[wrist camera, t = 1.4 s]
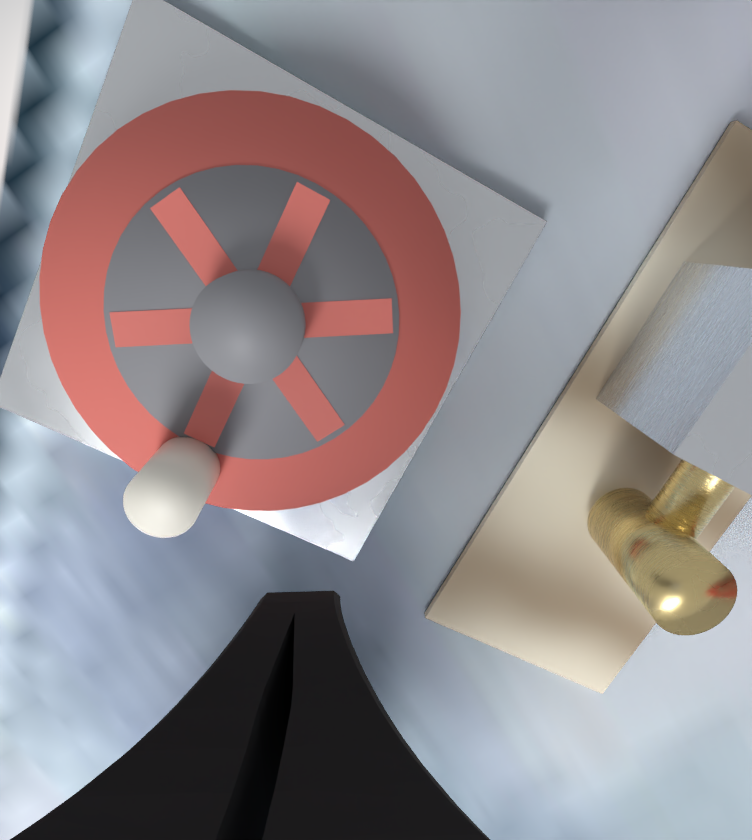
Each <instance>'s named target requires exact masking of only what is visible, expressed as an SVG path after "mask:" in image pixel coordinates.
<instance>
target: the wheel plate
mask: <svg viewBox="0 0 752 840" xmlns="http://www.w3.org/2000/svg"><path fill="white" fill-rule="evenodd" d="M226 90H241V91H262V92H268V93H274V94H279V95H285V96H290V97H293V98H297V99H300V100H303V101H306V102H309V103H312V104H315V105H318V106H321V107H323V108H325V109H327V110H329V111H331V112H333V113H335V114H337V115H339V116H341V117H343V118H345V119H347V120H349V121H350V122H352V123H353V124H355V125H356V126H358V127H359V128H361V129H362V130H364V131H365V132H367V133H368V134H370V135H371V136H373V137H374V138H375V139H376V140H377V141H378V142H380V143H381V144H382V145H383V146H384V147H385V148H386V149H387V150H389V151H390V152H391V153H392V154H393V155H394V156H395V157H396V158H397V159H398V160H399V161H400V162H401V163H402V165H403V166H404V167H405V168H406V169H407V170H408V172H409V173H410V174H411V175H412V176H413V177H414V178H415V180H416V181H417V183H418V184H419V186H420V187H421V189H422V190H423V192H424V193H425V195H426V196H427V198H428V199H429V201H430V202H431V204H432V206H433V208H434V210H435V212H436V214H437V216H438V218H439V220H440V222H441V224H442V226H443V228H444V230H445V233H446V236H447V239H448V242H449V245H450V248H451V251H452V254H453V257H454V262H455V267H456V272H457V277H458V282H459V292H460V306H461V318H460V334H459V342H458V348H457V353H456V358H455V363H454V367H453V370H452V373H451V376H450V379H449V382H448V385H447V388H446V390H445V392H444V394H443V396H442V399H441V401H440V403H439V405H438V407H437V409H436V411H435V413H434V414H433V416H432V417H431V419H430V420H429V422H428V423H427V425H426V426H425V428H424V430H423V431H422V433H421V434H420V435H419V436H418V437H417V439H416V440H415V441H414V442H413V443H412V444H411V446H410V447H409V448H408V449H407V450H406V451H405V452H404V453H403V454H402V455H401V456H400V457H399V458H398V459H397V460H395V461H394V462H393V463H392V464H391V465H390V466H389V467H388V468H387V469H385V470H384V471H382V472H381V473H379V474H378V475H377V476H375V477H374V478H372V479H371V480H369V481H368V482H366V483H364V484H363V485H361V486H359V487H357V488H355V489H353V490H351V491H349V492H347V493H345V494H343V495H340V496H337V497H335V498H332V499H329V500H327V501H324V502H321V503H317V504H313V505H309V506H304V507H300V508H294V509H285V510H277V511H247V510H238V509H234V510H237V511H239V512H241V513H244V514H246V515H248V516H250V517H253V518H255V519H257V520H260V521H262V522H264V523H266V524H269V525H271V526H273V527H276V528H278V529H280V530H282V531H285V532H287V533H289V534H292V535H294V536H296V537H299V538H301V539H303V540H305V541H308V542H310V543H312V544H315V545H317V546H319V547H321V548H324V549H326V550H328V551H331V552H333V553H335V554H337V555H340V556H342V557H344V558H347V559H349V560H351V561H354V560H355V558H356V556H357V554H358V553H359V551H360V549H361V547H362V546H363V544H364V542H365V540H366V539H367V537H368V535H369V533H370V532H371V530H372V528H373V526H374V525H375V523H376V521H377V519H378V518H379V516H380V514H381V512H382V511H383V509H384V507H385V505H386V503H387V502H388V500H389V498H390V496H391V495H392V493H393V491H394V489H395V488H396V486H397V484H398V482H399V481H400V479H401V477H402V475H403V474H404V472H405V470H406V468H407V467H408V465H409V463H410V461H411V460H412V458H413V456H414V454H415V453H416V451H417V449H418V447H419V446H420V444H421V442H422V440H423V439H424V437H425V435H426V433H427V431H428V430H429V428H430V426H431V424H432V423H433V421H434V419H435V417H436V416H437V414H438V412H439V410H440V409H441V407H442V405H443V403H444V402H445V400H446V398H447V396H448V395H449V393H450V391H451V389H452V388H453V386H454V384H455V382H456V381H457V379H458V377H459V375H460V374H461V372H462V370H463V368H464V367H465V365H466V363H467V361H468V360H469V358H470V356H471V354H472V352H473V351H474V349H475V347H476V345H477V344H478V342H479V340H480V338H481V337H482V335H483V333H484V331H485V330H486V328H487V326H488V324H489V323H490V321H491V319H492V317H493V316H494V314H495V312H496V310H497V309H498V307H499V305H500V303H501V302H502V300H503V298H504V296H505V295H506V293H507V291H508V289H509V288H510V286H511V284H512V282H513V280H514V279H515V277H516V275H517V273H518V272H519V270H520V268H521V266H522V265H523V263H524V261H525V259H526V258H527V256H528V254H529V252H530V251H531V249H532V247H533V245H534V244H535V242H536V240H537V238H538V237H539V235H540V233H541V231H542V230H543V228H544V226H545V224H546V223H547V221H545V220H543V219H542V218H540V217H538V216H537V215H535V214H533V213H531V212H530V211H528V210H526V209H524V208H523V207H521V206H519V205H517V204H516V203H514V202H512V201H511V200H509V199H507V198H505V197H504V196H502V195H500V194H498V193H497V192H495V191H493V190H491V189H490V188H488V187H486V186H485V185H483V184H481V183H479V182H478V181H476V180H474V179H472V178H471V177H469V176H467V175H465V174H464V173H462V172H460V171H459V170H457V169H455V168H453V167H452V166H450V165H448V164H446V163H445V162H443V161H441V160H439V159H438V158H436V157H434V156H433V155H431V154H429V153H427V152H426V151H424V150H422V149H420V148H419V147H417V146H415V145H413V144H412V143H410V142H408V141H407V140H405V139H403V138H401V137H400V136H398V135H396V134H394V133H393V132H391V131H389V130H388V129H386V128H384V127H382V126H381V125H379V124H377V123H375V122H374V121H372V120H370V119H368V118H367V117H365V116H363V115H362V114H360V113H358V112H356V111H355V110H353V109H351V108H349V107H348V106H346V105H344V104H342V103H341V102H339V101H337V100H336V99H334V98H332V97H330V96H329V95H327V94H325V93H323V92H322V91H320V90H318V89H316V88H315V87H313V86H311V85H310V84H308V83H306V82H304V81H303V80H301V79H299V78H297V77H296V76H294V75H292V74H290V73H289V72H287V71H285V70H284V69H282V68H280V67H278V66H277V65H275V64H273V63H271V62H270V61H268V60H266V59H264V58H263V57H261V56H259V55H258V54H256V53H254V52H252V51H251V50H249V49H247V48H245V47H244V46H242V45H240V44H238V43H237V42H235V41H233V40H232V39H230V38H228V37H226V36H225V35H223V34H221V33H219V32H218V31H216V30H214V29H213V28H211V27H209V26H207V25H206V24H204V23H202V22H200V21H199V20H197V19H195V18H193V17H192V16H190V15H188V14H187V13H185V12H183V11H181V10H180V9H178V8H176V7H174V6H173V5H171V4H169V3H167V2H166V1H164V0H133V1H132V4H131V6H130V9H129V12H128V15H127V18H126V21H125V24H124V26H123V29H122V32H121V35H120V38H119V41H118V44H117V46H116V49H115V52H114V55H113V58H112V61H111V64H110V66H109V69H108V72H107V75H106V78H105V81H104V84H103V86H102V89H101V92H100V95H99V98H98V101H97V104H96V106H95V109H94V112H93V115H92V118H91V121H90V124H89V126H88V129H87V132H86V135H85V138H84V141H83V144H82V146H81V149H80V152H79V155H78V158H77V161H76V164H75V166H74V169H73V172H72V175H71V178H70V181H71V179H72V178H73V176H74V175H75V173H76V171H77V170H78V169H79V168H80V166H81V165H82V164H83V163H84V162H85V161H86V159H87V158H88V157H89V156H90V155H91V154H92V152H93V151H94V150H95V149H96V148H97V147H98V146H99V145H100V144H101V143H103V142H104V141H105V140H106V139H107V138H108V137H110V136H111V135H112V134H113V133H114V132H115V131H116V130H118V129H119V128H121V127H122V126H124V125H125V124H127V123H129V122H130V121H132V120H133V119H135V118H136V117H138V116H140V115H141V114H143V113H145V112H147V111H150V110H152V109H154V108H156V107H159V106H161V105H163V104H165V103H168V102H170V101H174V100H177V99H181V98H185V97H188V96H192V95H196V94H200V93H209V92H218V91H226ZM70 181H69V183H70ZM40 269H41V263H40V266H39V269H38V272H37V275H36V278H35V281H34V283H33V286H32V289H31V292H30V295H29V298H28V301H27V303H26V306H25V309H24V312H23V315H22V318H21V321H20V323H19V326H18V329H17V332H16V335H15V338H14V341H13V343H12V346H11V349H10V352H9V355H8V358H7V361H6V363H5V366H4V369H3V372H2V375H1V378H0V407H1V408H3V409H6V410H8V411H10V412H12V413H15V414H17V415H19V416H22V417H24V418H26V419H28V420H31V421H33V422H35V423H38V424H40V425H42V426H44V427H47V428H49V429H51V430H54V431H56V432H58V433H60V434H63V435H65V436H67V437H70V438H72V439H74V440H76V441H79V442H81V443H83V444H86V445H88V446H90V447H92V448H95V449H97V450H99V451H102V452H104V453H106V454H109V455H111V456H113V457H115V458H118V459H120V458H119V457H118V456H117V455H116V454H114V453H113V452H112V451H111V450H110V449H109V448H108V447H107V446H106V445H105V444H104V443H103V442H102V441H101V440H100V439H99V438H98V437H97V436H96V435H95V433H94V432H93V431H92V430H91V429H90V428H89V426H88V425H87V424H86V422H85V421H84V419H83V418H82V417H81V415H80V414H79V413H78V411H77V410H76V409H75V407H74V405H73V403H72V402H71V400H70V398H69V396H68V395H67V393H66V391H65V389H64V388H63V386H62V384H61V382H60V379H59V377H58V374H57V372H56V370H55V367H54V365H53V363H52V360H51V357H50V353H49V350H48V346H47V342H46V339H45V335H44V331H43V324H42V317H41V310H40V279H39V277H40ZM120 460H121V459H120ZM122 461H123V460H122Z"/></svg>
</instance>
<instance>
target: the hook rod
mask: <svg viewBox="0 0 752 840" xmlns="http://www.w3.org/2000/svg"><path fill="white" fill-rule="evenodd" d="M734 488H735V486H733V485H731V484H729V483H727V482H725V481H723V480H721V479H719V478H718V477H716V476H714V475H712V474H710V473H708V472H706V471H704V470H702V469H700V468H698V467H696V466H695V465H693V464H691V463H689V462H687V461H685V460H683V459H682V460H681V461H680V463H679V464H678V466H677V467H676V469H675V470H674V471H673V473H672V474H671V476H670V477H669V478H668V480H667V481H666V483H665V484H664V486H663V487H662V488H661V490H660V491H659V493H658V494H657V496H656V497H655V498H654V500H652V499H651V498H650V497H649V496H648V495H646V494H645V493H644V492H642V491H640V490H637V489H633V488H619V489H615V490H612V491H610V492H608V493H606V494H605V495H603V496H602V497H600V498H599V499H598V500H597V501H596V502H595V504H594V505H593V507H592V508H591V510H590V512H589V516H588V521H587V526H588V531H589V534H590V536H591V538H592V539H593V540H594V542H595V543H596V544H597V546H598V547H599V548H600V550H601V551H602V552H603V553H604V555H605V556H606V557H607V559H608V560H609V561H610V563H611V564H612V565H613V567H614V568H615V569H616V571H617V572H618V573H619V574H620V576H621V577H622V578H623V580H624V581H625V582H626V584H627V585H628V586H629V588H630V589H631V590H632V591H633V593H634V594H635V595H636V597H637V598H638V599H639V601H640V602H641V603H642V605H643V606H644V607H645V609H646V610H647V611H648V612H649V614H650V615H651V616H652V618H653V619H654V620H655V622H656V623H657V624H658V625H659V626H660V627H661V628H663V629H664V630H666V631H668V632H670V633H673V634H677V635H695V634H699V633H702V632H705V631H707V630H710V629H711V628H713V627H715V626H716V625H718V624H719V623H720V622H721V621H723V620H724V619H725V618H726V616H727V615H728V614H729V613H730V611H731V610H732V608H733V606H734V603H735V601H736V597H737V585H736V581H735V579H734V576H733V575H732V573H731V572H730V571H729V570H728V569H727V568H726V567H725V566H724V565H723V564H722V563H721V562H720V561H719V560H717V559H716V558H715V557H714V556H713V555H712V554H711V553H710V552H709V551H708V550H707V549H705V548H704V547H703V546H702V545H701V544H700V543H699V542H698V541H697V540H696V539H697V538H698V537H699V535H700V534H701V533H702V531H703V530H704V528H705V527H706V526H707V524H708V523H709V522H710V520H711V519H712V518H713V516H714V515H715V514H716V512H717V511H718V510H719V508H720V507H721V506H722V504H723V503H724V501H725V500H726V499H727V497H728V496H729V495H730V493H731V492H732V491H733V489H734Z"/></svg>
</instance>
